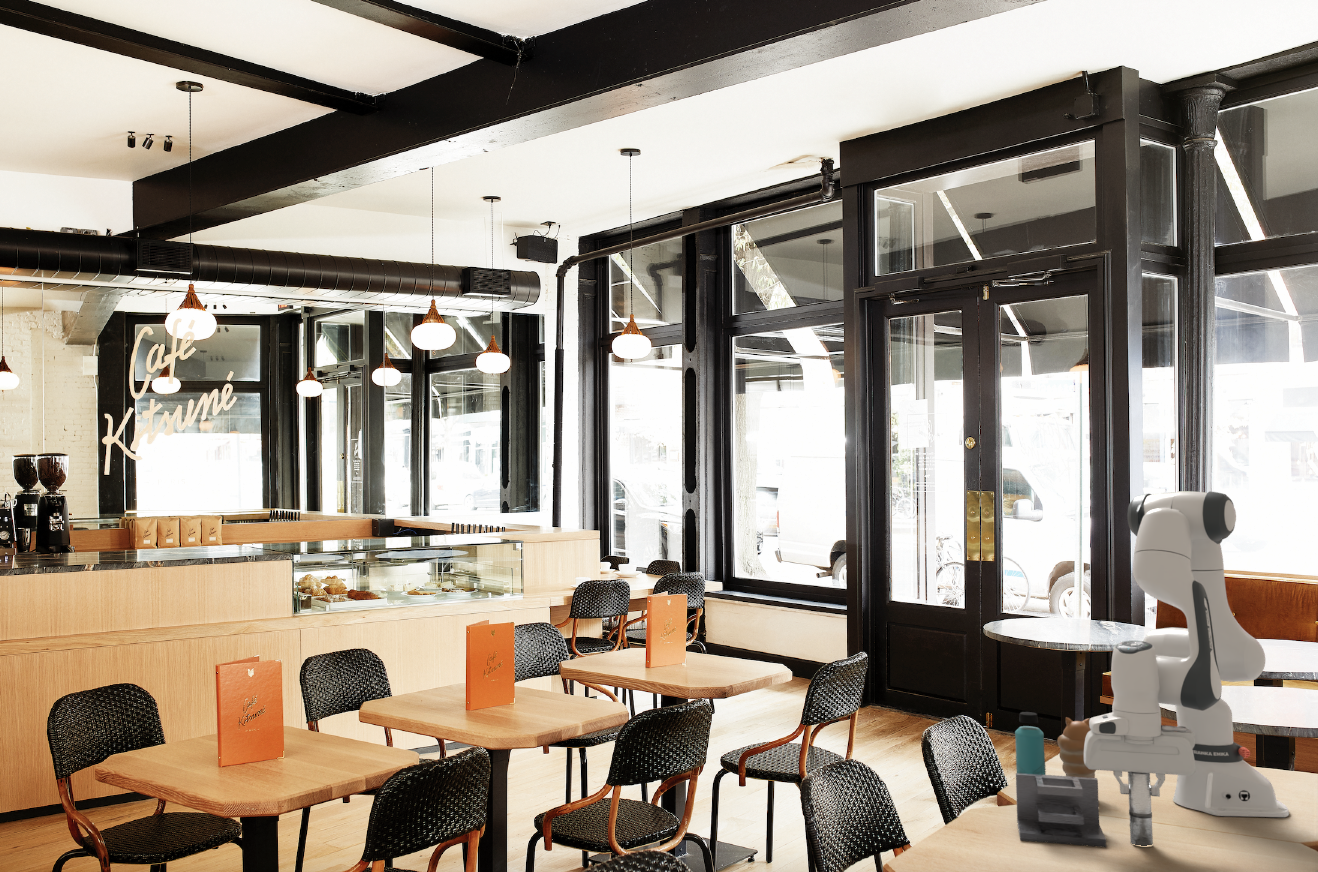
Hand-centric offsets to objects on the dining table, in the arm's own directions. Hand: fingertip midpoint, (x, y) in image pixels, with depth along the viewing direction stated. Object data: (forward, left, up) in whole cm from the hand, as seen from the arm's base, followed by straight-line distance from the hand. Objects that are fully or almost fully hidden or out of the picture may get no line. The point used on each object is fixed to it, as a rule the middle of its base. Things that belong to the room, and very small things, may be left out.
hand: (1139, 794), depth 203 cm
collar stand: (+15, -2, -10) cm, 18 cm away
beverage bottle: (+19, -26, -10) cm, 34 cm away
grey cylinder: (0, 0, -10) cm, 10 cm away
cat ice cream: (+8, -33, -10) cm, 35 cm away
